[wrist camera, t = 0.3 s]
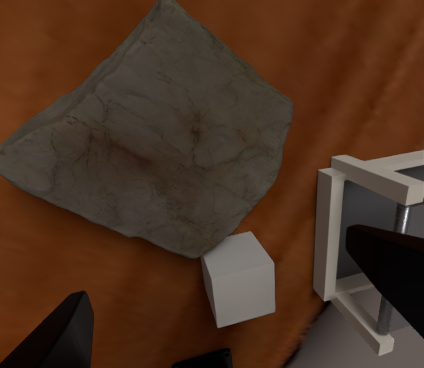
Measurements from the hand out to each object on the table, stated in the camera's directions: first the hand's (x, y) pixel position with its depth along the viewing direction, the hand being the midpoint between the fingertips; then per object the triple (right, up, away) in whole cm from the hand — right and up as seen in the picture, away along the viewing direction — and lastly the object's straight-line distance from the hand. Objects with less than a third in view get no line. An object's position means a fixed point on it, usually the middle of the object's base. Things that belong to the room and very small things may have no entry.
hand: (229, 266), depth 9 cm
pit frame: (+16, -1, +19) cm, 25 cm away
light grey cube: (+1, -4, +17) cm, 17 cm away
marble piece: (-4, +7, +12) cm, 14 cm away
